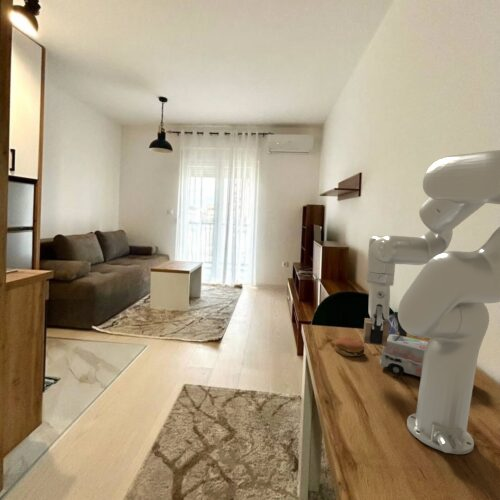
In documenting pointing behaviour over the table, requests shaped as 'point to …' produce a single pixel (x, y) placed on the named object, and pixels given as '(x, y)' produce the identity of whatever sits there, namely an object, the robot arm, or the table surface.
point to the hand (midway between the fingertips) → (374, 339)
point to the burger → (349, 347)
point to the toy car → (403, 355)
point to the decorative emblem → (395, 326)
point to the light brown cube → (368, 330)
